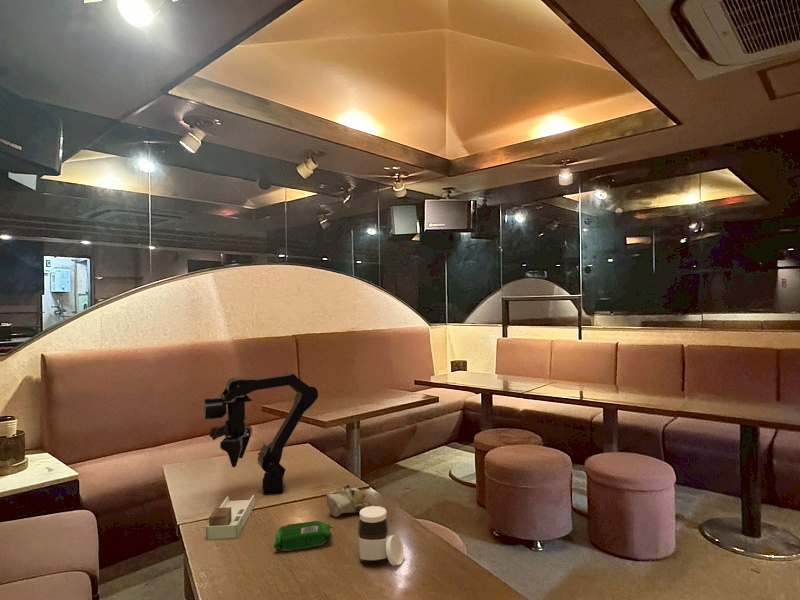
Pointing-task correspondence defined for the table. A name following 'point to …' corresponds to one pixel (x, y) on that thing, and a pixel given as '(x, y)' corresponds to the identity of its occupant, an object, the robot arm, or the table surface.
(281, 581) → the table surface
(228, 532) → the tray
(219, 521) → the walnut block
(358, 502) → the ceramic sculpture
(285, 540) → the snack package
